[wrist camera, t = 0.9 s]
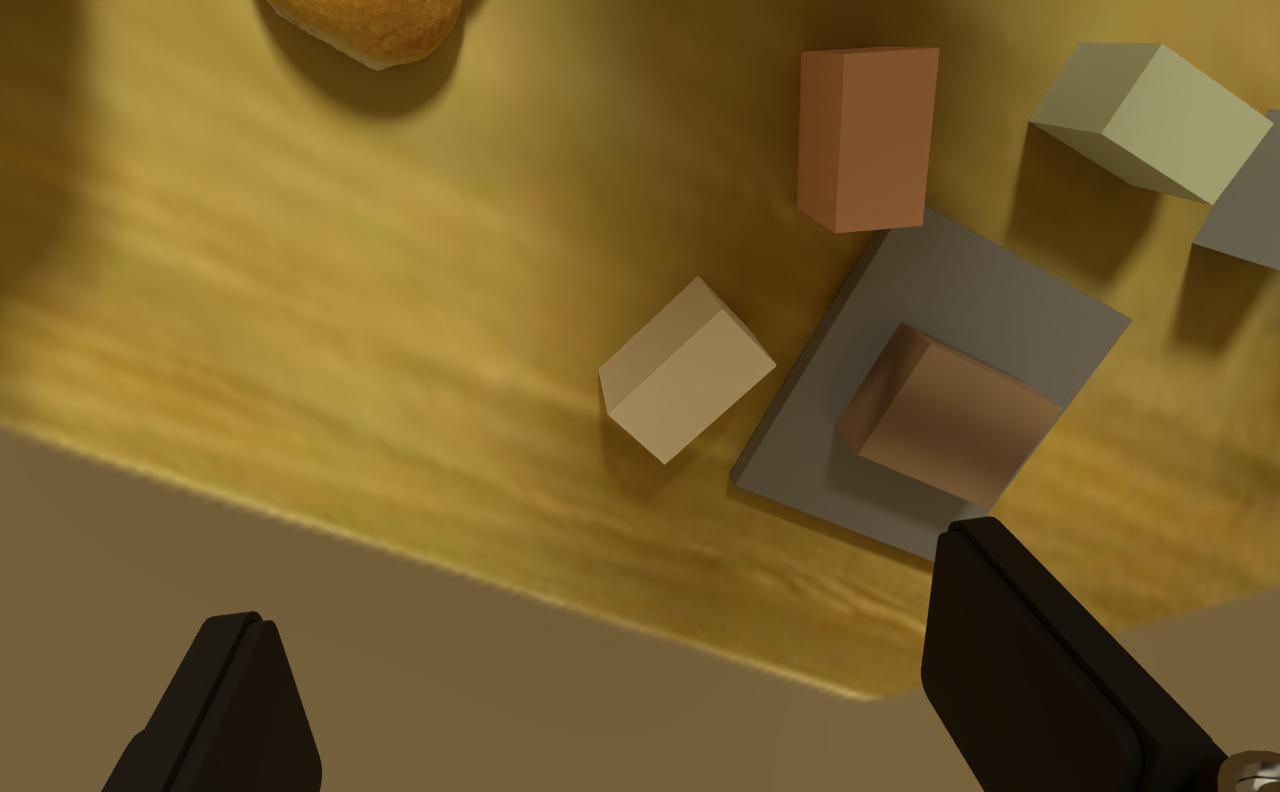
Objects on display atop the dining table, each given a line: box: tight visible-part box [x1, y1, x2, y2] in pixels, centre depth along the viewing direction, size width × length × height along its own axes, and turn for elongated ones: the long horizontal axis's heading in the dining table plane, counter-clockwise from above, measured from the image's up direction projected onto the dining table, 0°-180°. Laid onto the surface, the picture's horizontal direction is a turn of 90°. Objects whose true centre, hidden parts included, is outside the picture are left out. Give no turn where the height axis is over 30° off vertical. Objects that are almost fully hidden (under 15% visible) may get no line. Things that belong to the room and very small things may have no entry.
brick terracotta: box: [797, 46, 940, 233], centre depth 32 cm, size 6×4×5 cm, turn 3°
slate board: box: [729, 205, 1132, 562], centre depth 39 cm, size 16×14×1 cm
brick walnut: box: [835, 321, 1063, 509], centre depth 38 cm, size 6×8×3 cm
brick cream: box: [598, 276, 777, 465], centre depth 35 cm, size 6×4×5 cm, turn 134°
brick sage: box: [1029, 42, 1274, 205], centre depth 33 cm, size 6×4×5 cm, turn 63°
